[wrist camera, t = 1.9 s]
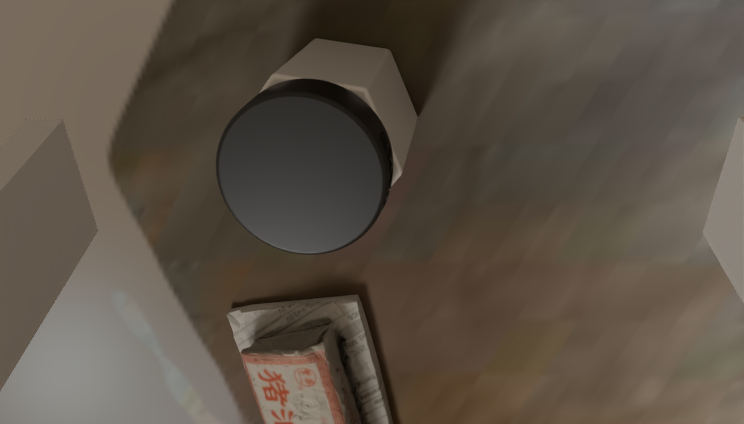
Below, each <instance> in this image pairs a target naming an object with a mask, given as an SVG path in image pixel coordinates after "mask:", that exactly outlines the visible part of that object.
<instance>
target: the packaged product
mask: <svg viewBox="0 0 744 424" xmlns="http://www.w3.org/2000/svg"><path fill="white" fill-rule="evenodd" d="M226 315H227V317H228V319H229V321H230V324H231V327H232V330H233V335H234V338H235V341H236V344H237V346H238V349H239V351H240V353H241V357H242V361H243V364H244V368H245V370H246V372H247V375H248V378H249V381H250V384H251V386H252V389H253V392H254V395H255V398H256V401H257V404H258V406H259V409H260V413H261V415H262V418H263V421H264V424H393V421H392V416H391V412H390V408H389V403H388V399H387V395H386V390H385V386H384V382H383V378H382V374H381V370H380V366H379V362H378V358H377V355H376V351H375V348H374V344H373V341H372V337H371V333H370V330H369V326H368V323H367V319H366V316H365V313H364V309H363V306H362V303H361V300H360V298H359V295H345V296H335V297H325V298H315V299H305V300H293V301H283V302H273V303H263V304H253V305H247V306H243V307H238V308H233V309H231V310H230V311H229V312H228V313H227V314H226Z"/></svg>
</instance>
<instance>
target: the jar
mask: <svg viewBox="0 0 744 424" xmlns="http://www.w3.org/2000/svg"><path fill="white" fill-rule="evenodd" d="M417 120H418V117H417V114H416V112H415V109H414V107H413V105H412V102H411V100H410V97H409V95H408V92H407V90H406V87H405V85H404V83H403V80H402V78H401V75H400V73H399V70H398V68H397V65H396V63H395V60H394V58H393V55H392V53H391V51H390V50H389V49H385V48H378V47H371V46H365V45H358V44H351V43H345V42H338V41H331V40H325V39H318V38H316V39H313V40H312V41H311V42H310V43H309V44H307V45H306V46H305V47H304V48H303V49H302V50H300V51H299V52H298V53H297V54H296V55H294V56H293V57H292V58H291V59H290V60H289V61H287V62H286V63H285V64H284V65H283V66H281V67H280V68H279V69H278V70H277V71H276V72H274V73H273V74H272V75H271V76H270V78H269V79H268V81H267V82H266V84H265V85H264V87H263V88H262V89H261V91H260V92H259V94H258V95H257V96H255V97H254V98H253V99H252V100H251V101H250V102H249V103H247V104H246V105H245V106H244V107H243V108H242V109H241V110H240V111H238V112H237V113H236V114H235V116H234V117H233V118H232V119H231V120H230V122H229V123H228V125H227V127H226V128H225V130H224V132H223V134H222V136H221V139H220V142H219V145H218V150H217V156H216V173H217V180H218V185H219V188H220V191H221V194H222V196H223V199H224V201H225V203H226V205H227V207H228V208H229V210H230V211H231V213H232V214H233V216H234V217H235V218H236V220H237V221H238V222H239V223H240V224H241V225H242V226H243V227H244V228H245V229H246V230H247V231H248V232H249V233H251V234H252V235H253V236H255V237H256V238H258V239H259V240H261V241H262V242H264V243H266V244H268V245H270V246H272V247H274V248H277V249H280V250H283V251H286V252H290V253H296V254H305V255H316V254H325V253H329V252H333V251H337V250H340V249H342V248H344V247H346V246H348V245H350V244H352V243H354V242H355V241H357V240H358V239H359V238H361V237H362V236H363V235H364V234H365V233H366V232H367V231H368V230H369V229H370V228H371V227H372V225H373V224H374V223H375V221H376V220H377V218H378V216H379V215H380V213H381V211H382V210H383V208H384V206H385V203H386V201H387V199H388V195H389V192H390V191H388V190H389V189H391V186H392V185H393V184H394V183H395V182H396V180H397V179H398V178H399V177H400V176H401V174H402V172H403V169H404V165H405V162H406V158H407V155H408V151H409V148H410V144H411V141H412V137H413V134H414V130H415V127H416V124H417Z"/></svg>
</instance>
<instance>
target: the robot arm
mask: <svg viewBox="0 0 744 424" xmlns="http://www.w3.org/2000/svg"><path fill="white" fill-rule="evenodd" d="M97 231H98V229H97V226H96V222H95V219H94V216H93V213H92V210H91V207H90V203H89V200H88V197H87V194H86V191H85V188H84V184H83V181H82V178H81V175H80V172H79V169H78V165H77V162H76V159H75V156H74V153H73V150H72V146H71V143H70V140H69V137H68V134H67V131H66V127H65V125H64V121H63V119H40V120H39V119H28V120H27V119H25V120H24V121H23V122H22V123H21V125H20V126H19V127H18V128H17V129H16V130H15V131H14V132H13V133H12V134H11V135H10V136H9V137H8V138H7V139H6V140H5V141H4V142H3V143H2V144H1V145H0V391H1V389H2V387H3V386H4V384H5V382H6V381H7V379H8V378H9V376H10V374H11V373H12V371H13V369H14V368H15V366H16V364H17V363H18V361H19V359H20V358H21V356H22V355H23V353H24V351H25V350H26V348H27V346H28V344H29V343H30V341H31V340H32V338H33V337H34V335H35V333H36V332H37V330H38V328H39V327H40V325H41V323H42V322H43V320H44V318H45V317H46V315H47V313H48V312H49V310H50V308H51V307H52V305H53V304H54V302H55V300H56V299H57V297H58V295H59V294H60V292H61V290H62V289H63V287H64V286H65V284H66V282H67V281H68V279H69V277H70V276H71V274H72V272H73V271H74V269H75V267H76V266H77V264H78V263H79V261H80V259H81V258H82V256H83V254H84V253H85V251H86V250H87V248H88V246H89V244H90V243H91V241H92V240H93V238H94V236H95V235H96V233H97ZM702 233H703V235H704V237H705V239H706V240H707V242H708V244H709V245H710V247H711V249H712V250H713V252H714V254H715V256H716V257H717V259H718V261H719V262H720V264H721V266H722V268H723V269H724V271H725V273H726V274H727V276H728V278H729V279H730V281H731V283H732V285H733V286H734V288H735V290H736V291H737V293H738V295H739V297H740V298H741V300H742V302H743V303H744V117H739V118H738V121H737V125H736V128H735V131H734V134H733V137H732V140H731V144H730V147H729V150H728V153H727V156H726V159H725V163H724V166H723V169H722V172H721V175H720V179H719V182H718V185H717V188H716V191H715V194H714V198H713V201H712V204H711V207H710V210H709V213H708V217H707V220H706V223H705V226H704V229H703V232H702Z"/></svg>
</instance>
